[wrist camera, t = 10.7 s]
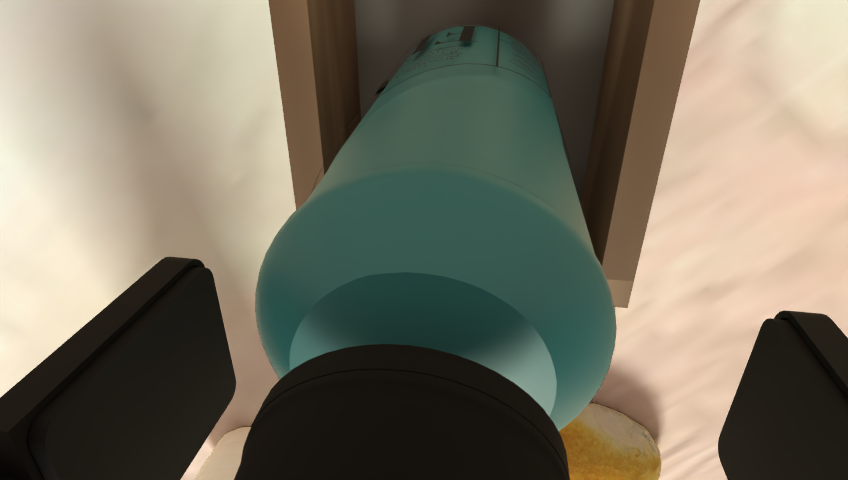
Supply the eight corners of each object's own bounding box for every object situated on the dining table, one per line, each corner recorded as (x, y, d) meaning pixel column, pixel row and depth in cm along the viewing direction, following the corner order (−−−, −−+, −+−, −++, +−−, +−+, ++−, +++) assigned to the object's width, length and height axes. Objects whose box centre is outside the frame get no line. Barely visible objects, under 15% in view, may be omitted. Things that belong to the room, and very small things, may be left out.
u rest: (656, -57, 19) (712, -54, 14) (601, 231, 25) (627, 307, 20) (322, -57, 20) (261, -55, 15) (344, 215, 26) (305, 283, 21)
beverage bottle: (491, -24, 20) (420, 230, 3) (582, 116, 22) (855, 745, 5) (364, 80, 23) (-77, 544, 5) (456, 197, 25) (350, 794, 8)
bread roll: (482, 464, 35) (480, 523, 31) (560, 379, 30) (567, 436, 27) (590, 513, 35) (600, 575, 32) (681, 437, 31) (703, 499, 28)
